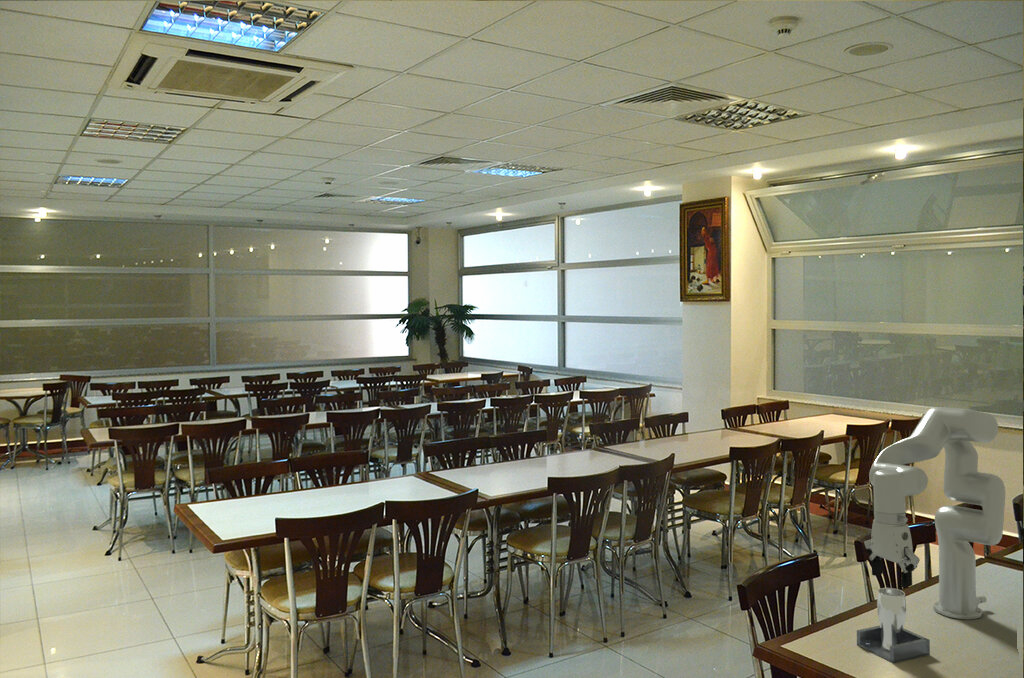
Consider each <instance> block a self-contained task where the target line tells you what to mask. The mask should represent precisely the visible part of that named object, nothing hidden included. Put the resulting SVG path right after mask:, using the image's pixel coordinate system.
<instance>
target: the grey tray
mask: <svg viewBox="0 0 1024 678" xmlns="http://www.w3.org/2000/svg"><path fill="white" fill-rule="evenodd" d="M880 639H881V628H880V625H876V626H871V627H866V628H862V629H857V630H856V645H857V646H858V647H860V648H862V649H864V650H867V651H868V652H871V653H872V654H875V655H876V656H878V657H881V658H883V659H884V660H886V661H888V662H890V663H892V664H897V663H901V662H905V661H909V660H914V659H918V658H923V657H927V656H930V655H931V650H930V649H931V646H930V645H931V642H930V639H928V638H926V637H925V636H922V635H920V634H917V633H915V632H914V631H911V630H909V629H906V628H904V630H903V641H904V643H902V644H897V645H893V646H890V651H887V650H884V649H882V648H881V647H880Z"/></svg>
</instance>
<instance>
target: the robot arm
mask: <svg viewBox="0 0 1024 678" xmlns="http://www.w3.org/2000/svg"><path fill="white" fill-rule="evenodd" d="M998 433H999V424H998V420H997V419H996V418H995V417H994V415H992V414H991V413H988V412H983V411H979V410H975V409H970V408H962V407H961V408H960V407H949V406H935V407H931V408H928V410H926V412H925V413H924V414H923V416H922V417H921V419H920V420H919V422H918V424H917V425H916V427H915V428H914V430H913V431H912V433H911V434H910V436H908V437H906V438H903V439H900V440H899V441H897V442H895V443H893V444H891V445H889V446H887V447H885V448H884V449H883V450H881V451H880V453H879V454H878V456H877V457H876V458H875V460H874V461H873V463H872V465H871V467H870V469H869V473H868V478H869V482H870V483H871V486H873V512H874V513H873V514H874V515H873V518H874V519H873V520H872V524H871V525H872V527H871V533H870V535H871V536H870V537H871V538H870V539H868V540H864V541H863V543H864V547H865V549H866V553H867V554H868V556H869V557H868V558H869V560H870V561H871V575H872V576H874V577H875V576H879V575H883V574H884V573H883V571H884V569H883V559H884V560H887V561H890V562H893V563H896V564H898V565H899V567H900V568H901V570H902V571H901V572H900V585H901V587H902V588H907V587H911V586H913V572H914V571H915V570H916V569H917V568H918V565H919V563H920V558H919V556H918V555H916V553H914V551H913V550H914V549H913V548H914V547H913V541H912V534H911V529H910V526H909V524H908V523H907V522H908V520H909V519H908V517H906V497H907V496H917V495H920V494H921V493H923V492H924V491H925V490H926V488H928V483H929V480H928V479H929V478H928V475H927V473H926V471H924V470H923V469H921V468H919V467H916V466H911V465H906V464H912V463H920V462H923V461H929V460H933V459H934V458H937V457H938V456H939V454H941V451H942V450H943V449H944V453H945V454H944V455H945V456H944V457H945V459H944V460H945V461H944V472H943V494H944V496H945V497H946V499H949V500H951V501H954V502H959V503H963V504H971V505H977V506H981V507H982V509H981V510H980V509H974V508H970V507H964V506H963V507H962V506H958V505H944V506H941V507H939V508H938V509H937V510H936V512H935V514H934V525H935V529H936V530H935V531H936V536H937V541H938V584H939V585H938V588H939V589H938V593H939V594H938V595H939V597H938V599H939V600H938V601H936V602H934V603H933V610H934V611H935V612H936V613H938V614H940V615H942V616H945V617H947V618H948V617H949V618H954V619H959V620H975V619H979V618H981V617H982V616H983V610H982V609H981V608H979V605H980V604H984V603H986V602H987V597H986V596H984V595H980V596H977V591H976V590H977V589H976V588H977V587H976V585H977V581H976V578H977V577H976V572H977V571H976V570H977V568H976V567H977V566H976V565H977V563H976V560H977V559H976V552H975V550H974V549H973V547H972V545H971V544H970V542H971V543H975V544H980V545H981V544H982V545H985V546H986V545H987V546H995V545H997V544H999V543H1000V541H1001V540H1002V538H1003V534H1004V533H1003V532H1004V524H1005V523H1004V520H1005V508H1006V486H1005V484H1004V481H1003V479H1002V478H1001V477H999V476H998V475H997V474H992V473H987V472H980V471H978V470H979V469H978V466H979V464H978V463H979V454H978V451H977V449H976V448H975V446H974V445H973V442H975V443H976V442H977V443H982V444H985V443H987V444H988V443H991V442H993V441H994V440H995V439H996V438H997V436H998Z"/></svg>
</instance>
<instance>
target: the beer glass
mask: <svg viewBox="0 0 1024 678" xmlns="http://www.w3.org/2000/svg"><path fill="white" fill-rule="evenodd" d="M876 598H877V599H876V601H877V602H876V609H877V617H878V621H879V626H880V628H881V639H880V647H881V648H882V649H884V650H887V651H890V646H893V645H897V644H902V643H904V641H903V630H904V629H905V625H906V624H905V623H906V617H907V602H906V593H905V591H903V590H901V589H897V588H892V587H883V588H882V587H881V588H879V589H877V597H876Z"/></svg>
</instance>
